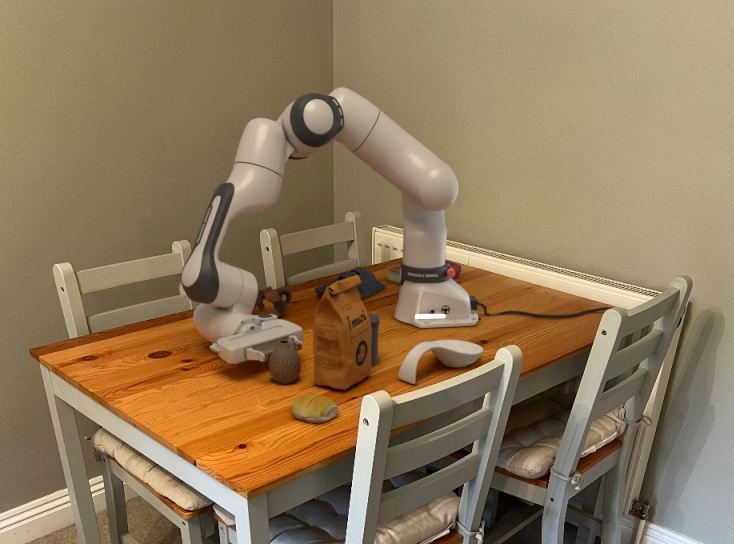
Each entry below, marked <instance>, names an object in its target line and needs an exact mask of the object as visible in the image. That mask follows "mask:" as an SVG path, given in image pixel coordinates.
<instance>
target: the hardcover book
mask: <svg viewBox="0 0 734 544" xmlns="http://www.w3.org/2000/svg"><path fill="white" fill-rule="evenodd" d="M445 263H447V264H449V265H450V266H451V267H452V269H454V271H455V276H454V277H453V278H452V279H453V280H455V279H459V278H462V274H463V264H461V263H458V262H455V261H452V260H448V259H445ZM400 265H401V263H400V264H394V265H391V266H386V270H387V278H386V279H385V281H387V282H390V283H393V284H396V285H399V286H400V282H399V276H400Z"/></svg>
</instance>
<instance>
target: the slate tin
mask: <svg viewBox="0 0 734 544" xmlns="http://www.w3.org/2000/svg"><path fill="white" fill-rule="evenodd" d="M367 313H368V312H367ZM368 316H369V319H370V322H371V328H372V342H371V367H374V366H376V365H377V364H378V362H379V337H380V336H379V335H380V334H379V332H380V324H381V317H380V316H379V315H377V314H373V313H368Z"/></svg>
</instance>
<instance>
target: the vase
mask: <svg viewBox="0 0 734 544" xmlns="http://www.w3.org/2000/svg"><path fill="white" fill-rule="evenodd" d="M268 358H269V359H268V370H269V371H268V372H269V373H270V376H271V377H272V379H273V380H274V381H275V382H277V383H278V384H281V385H289V384H292V383H294V382H295V381H296V380H297V379H298V378H299V376H300V374H301V370H302V361H301V357H300V355H299V353H298V351H296V350H295V349H294V348H293V347H292V345H291V344H290V342H289V341H288V340H280V341H278V343H277V346H276V347H275V348H274V350H273V351H272V353H270V355H269V356H268Z"/></svg>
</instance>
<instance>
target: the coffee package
mask: <svg viewBox="0 0 734 544" xmlns="http://www.w3.org/2000/svg"><path fill="white" fill-rule="evenodd" d="M360 283H361V280H360V278H359V276H358V275H355V276H352V277H349V278H346V279H343V280H340V281H336V282H335V283H333V284H332V285H330V286H328V287H327V288H326V291H325V293H324V295H321V296H322V297H321V298H320V301H319V302H318V304H317V307H316V309H315V312H314V318H313V330H312V331H313V333H312V334H313V337H312V350H313V367H314V368H313V369H314V372H313V373H314V374H313V375H314V377H313V378H314V385H317V386H323V387H329V388H332V389H335V390H343V391H345V390H347V389H349V388H350V387H352V386H353V385H355V384H357V383H360V382H361V381H363V380H365V379H366V378H368V377H369V376H370V375H371V372H372V370H373V369H372V366H371V342H372V328H371V322H370V319H369V316H368V310H367V308H366V305H364V302H363V301H362V299H361V298H360V294H359V291H358V289H357V288H356V286H357V285H359V284H360Z"/></svg>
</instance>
